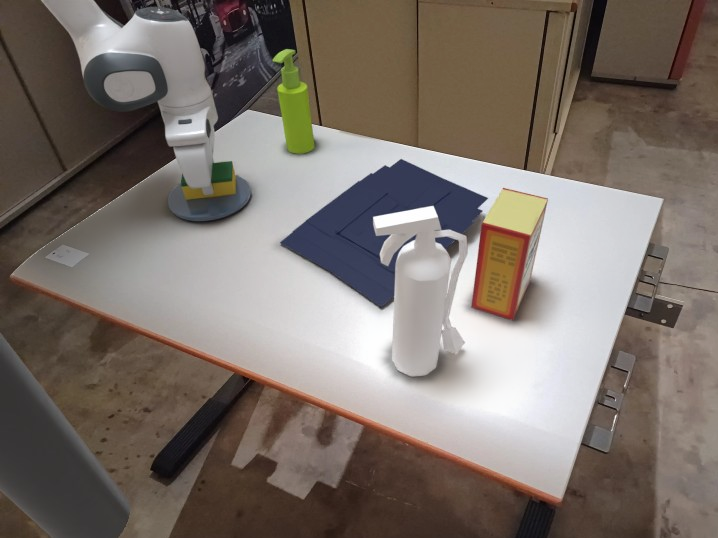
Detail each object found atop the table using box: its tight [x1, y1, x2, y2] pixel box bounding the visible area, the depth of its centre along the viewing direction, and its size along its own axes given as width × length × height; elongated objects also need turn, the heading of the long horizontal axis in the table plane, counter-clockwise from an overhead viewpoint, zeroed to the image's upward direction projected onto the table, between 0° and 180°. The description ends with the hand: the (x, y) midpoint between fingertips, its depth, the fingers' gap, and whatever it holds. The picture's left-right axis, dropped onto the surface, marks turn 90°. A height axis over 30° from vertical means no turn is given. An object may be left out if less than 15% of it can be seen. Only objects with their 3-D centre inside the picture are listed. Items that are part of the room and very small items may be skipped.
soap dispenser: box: [271, 48, 316, 155], centre depth 111 cm, size 6×7×20 cm
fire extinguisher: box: [373, 206, 468, 377], centre depth 68 cm, size 7×12×25 cm, turn 99°
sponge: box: [180, 160, 236, 200], centre depth 103 cm, size 9×6×4 cm, turn 102°
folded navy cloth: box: [279, 158, 489, 308], centre depth 96 cm, size 24×30×4 cm
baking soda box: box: [470, 187, 549, 321], centre depth 80 cm, size 10×6×16 cm
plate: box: [167, 174, 252, 222], centre depth 104 cm, size 15×15×1 cm
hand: (210, 182), depth 104 cm, fingers closed on sponge, 6 cm apart
